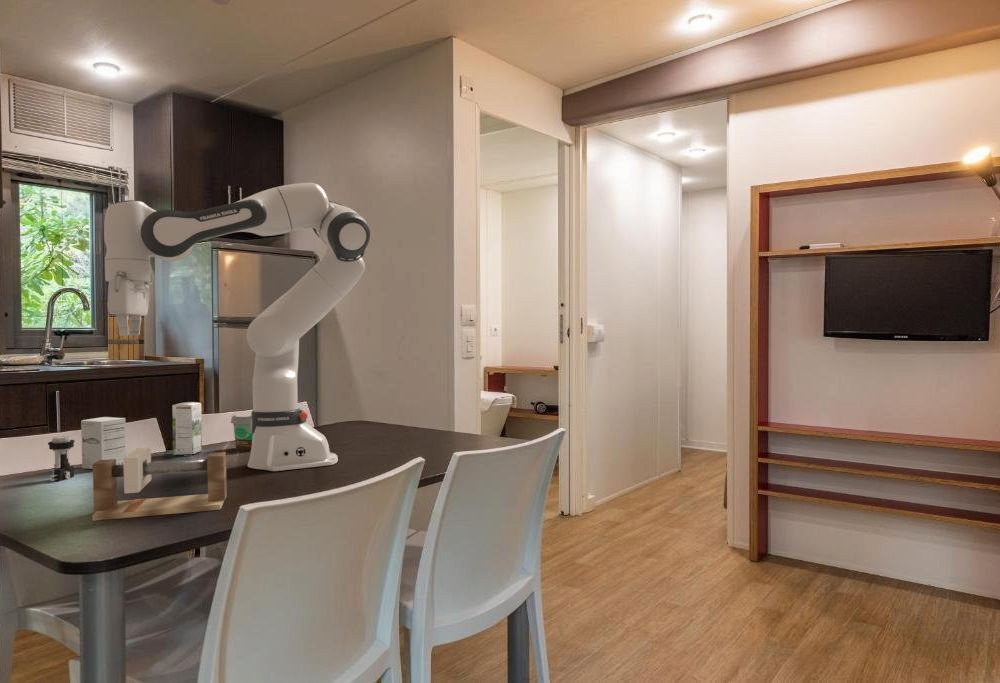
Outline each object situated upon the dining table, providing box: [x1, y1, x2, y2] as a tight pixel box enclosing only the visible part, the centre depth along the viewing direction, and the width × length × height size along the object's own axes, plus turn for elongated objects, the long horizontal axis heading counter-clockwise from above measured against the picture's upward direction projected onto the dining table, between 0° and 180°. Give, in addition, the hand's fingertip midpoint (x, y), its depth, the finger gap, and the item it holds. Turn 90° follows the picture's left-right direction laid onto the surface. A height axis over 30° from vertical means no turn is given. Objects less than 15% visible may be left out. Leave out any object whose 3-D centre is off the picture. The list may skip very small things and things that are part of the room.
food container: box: [230, 413, 253, 452], centre depth 194 cm, size 12×6×10 cm, turn 80°
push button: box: [47, 435, 75, 482], centre depth 158 cm, size 7×5×10 cm
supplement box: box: [80, 416, 127, 470], centre depth 172 cm, size 7×7×13 cm
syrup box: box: [171, 401, 203, 456], centre depth 188 cm, size 6×6×14 cm
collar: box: [123, 447, 152, 494], centre depth 129 cm, size 2×11×7 cm, turn 17°
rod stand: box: [91, 451, 228, 521], centre depth 130 cm, size 23×10×10 cm, turn 107°
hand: (129, 335), depth 148 cm, fingers open, 8 cm apart
